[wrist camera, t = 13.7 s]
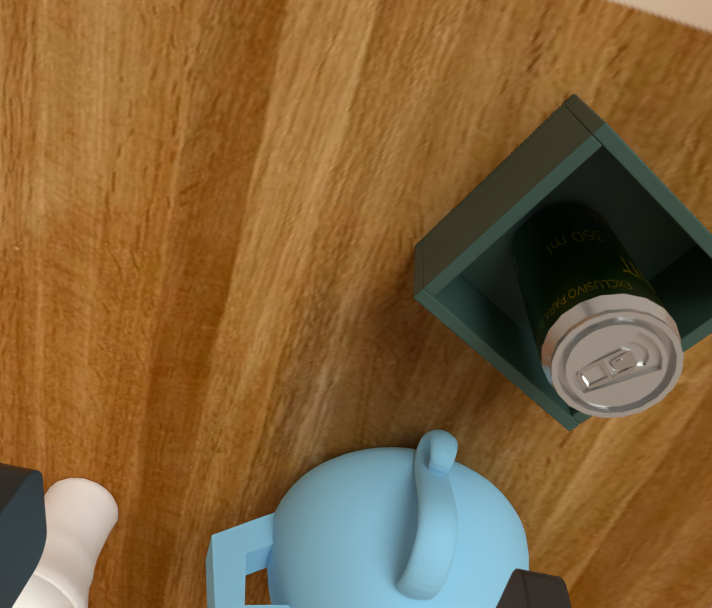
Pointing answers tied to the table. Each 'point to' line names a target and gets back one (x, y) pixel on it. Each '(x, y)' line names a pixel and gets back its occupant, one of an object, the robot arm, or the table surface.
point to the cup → (70, 544)
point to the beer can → (594, 314)
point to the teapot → (377, 536)
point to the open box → (536, 193)
